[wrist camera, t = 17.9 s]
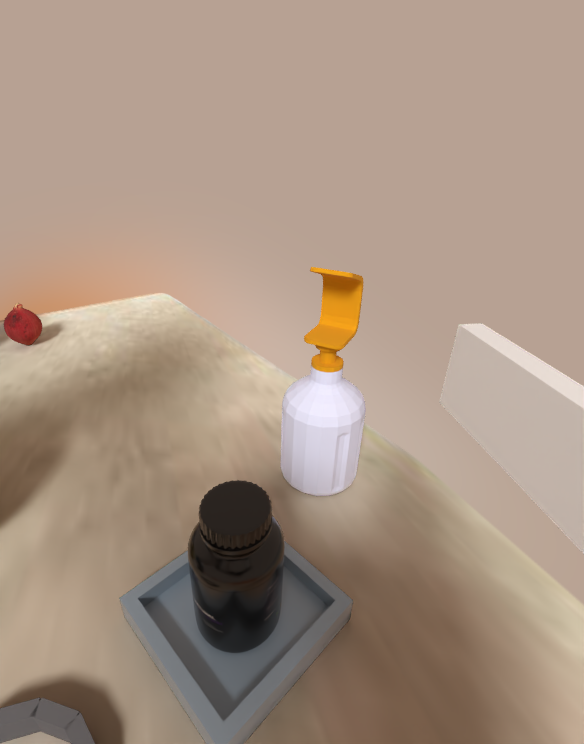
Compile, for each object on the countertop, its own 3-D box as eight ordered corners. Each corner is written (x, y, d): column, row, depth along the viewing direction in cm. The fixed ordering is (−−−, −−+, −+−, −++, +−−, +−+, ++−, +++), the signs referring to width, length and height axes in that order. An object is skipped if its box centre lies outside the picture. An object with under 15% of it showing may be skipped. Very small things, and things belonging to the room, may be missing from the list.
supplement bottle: (180, 645, 30) (161, 535, 24) (215, 565, 36) (205, 461, 30) (269, 668, 29) (271, 559, 23) (290, 581, 35) (295, 477, 29)
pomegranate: (34, 352, 73) (22, 310, 69) (3, 350, 73) (-11, 309, 69) (52, 339, 78) (41, 299, 74) (23, 337, 78) (11, 298, 75)
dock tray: (124, 616, 33) (119, 598, 32) (247, 526, 41) (247, 508, 40) (222, 768, 25) (220, 751, 24) (349, 618, 33) (353, 600, 32)
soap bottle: (267, 481, 47) (268, 269, 35) (300, 438, 54) (310, 250, 42) (340, 509, 43) (368, 286, 32) (364, 459, 51) (395, 262, 39)
